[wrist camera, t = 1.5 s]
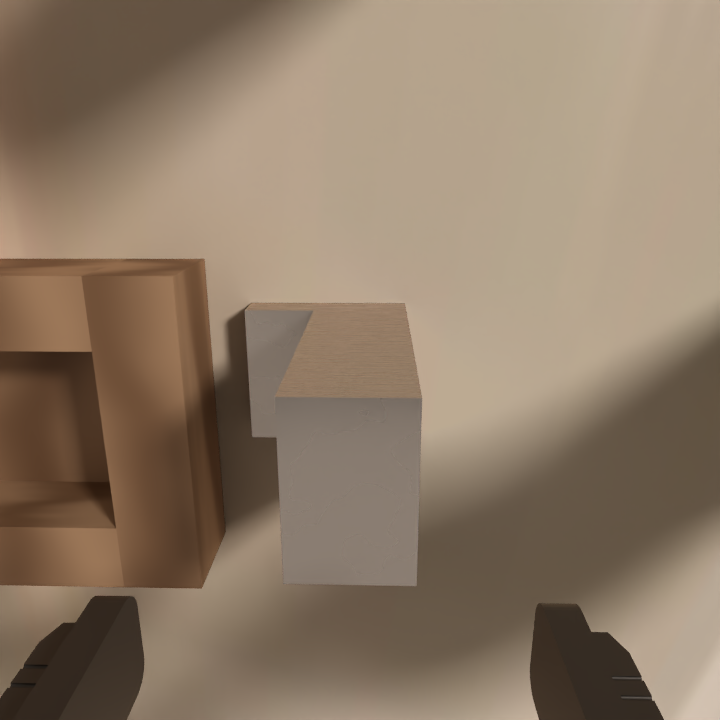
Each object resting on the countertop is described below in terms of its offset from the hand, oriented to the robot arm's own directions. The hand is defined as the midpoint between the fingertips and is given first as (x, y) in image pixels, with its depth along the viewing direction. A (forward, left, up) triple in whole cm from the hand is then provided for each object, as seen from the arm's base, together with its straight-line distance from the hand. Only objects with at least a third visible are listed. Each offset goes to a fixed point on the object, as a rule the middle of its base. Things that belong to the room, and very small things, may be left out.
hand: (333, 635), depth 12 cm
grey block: (+1, 0, -18) cm, 18 cm away
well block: (+15, +2, -18) cm, 23 cm away
